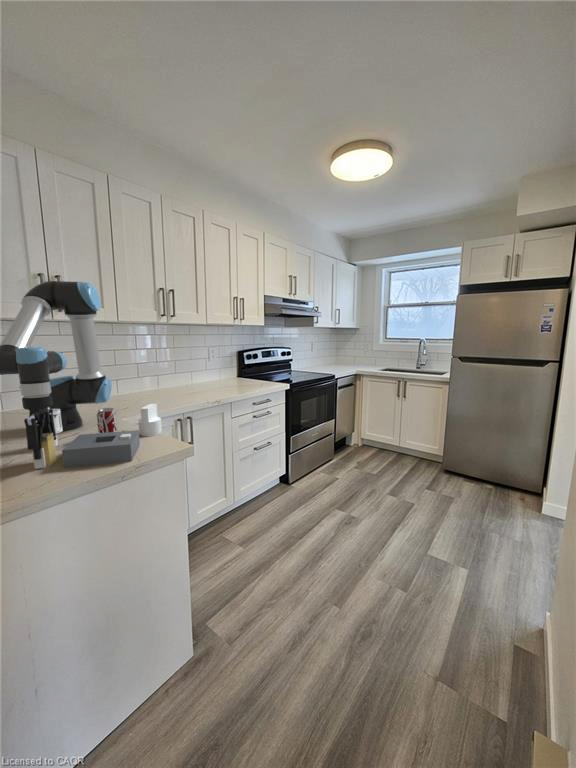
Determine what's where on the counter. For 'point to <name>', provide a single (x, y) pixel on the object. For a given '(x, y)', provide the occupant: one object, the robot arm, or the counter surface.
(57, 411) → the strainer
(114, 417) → the soda can
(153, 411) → the cylinder with rectangular tab
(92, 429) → the counter surface
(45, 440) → the rectangular block
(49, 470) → the counter surface
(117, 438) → the socket board
